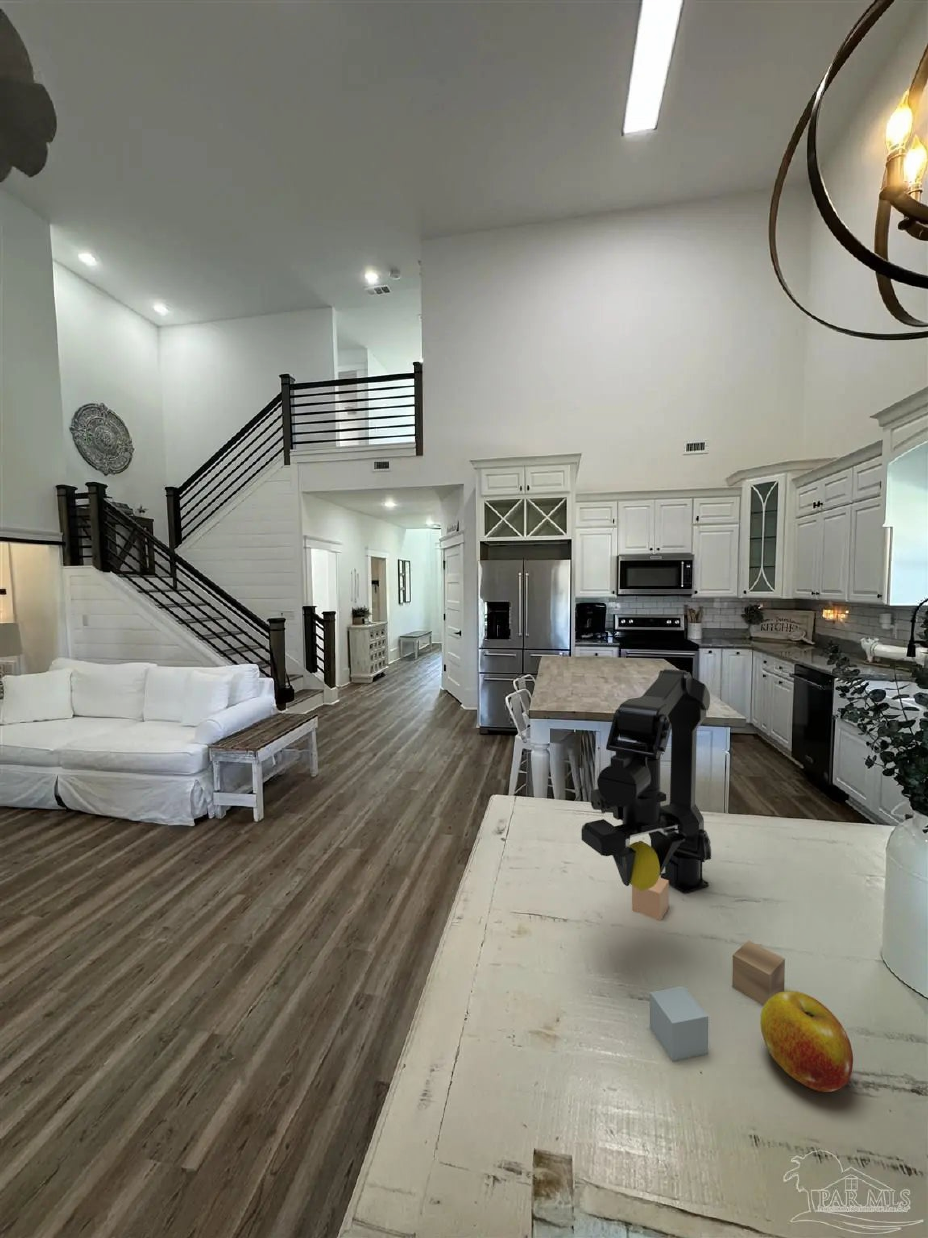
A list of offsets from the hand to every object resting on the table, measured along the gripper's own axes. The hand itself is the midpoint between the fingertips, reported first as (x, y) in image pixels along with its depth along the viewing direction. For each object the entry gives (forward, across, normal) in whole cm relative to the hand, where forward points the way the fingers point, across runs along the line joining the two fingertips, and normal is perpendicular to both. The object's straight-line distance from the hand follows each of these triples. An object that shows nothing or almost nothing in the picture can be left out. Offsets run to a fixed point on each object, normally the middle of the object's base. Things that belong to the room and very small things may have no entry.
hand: (640, 880), depth 81 cm
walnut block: (+12, -11, +12) cm, 20 cm away
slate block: (+12, +6, +14) cm, 20 cm away
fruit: (+13, -5, +23) cm, 27 cm away
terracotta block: (+13, -10, -9) cm, 18 cm away
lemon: (+2, 0, 0) cm, 2 cm away
